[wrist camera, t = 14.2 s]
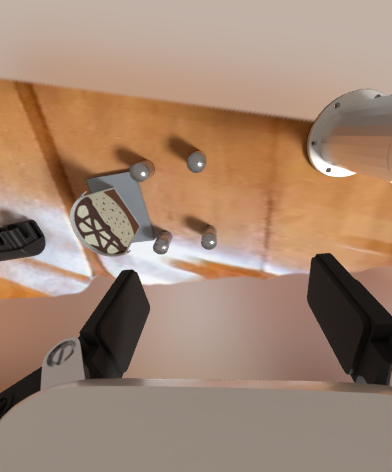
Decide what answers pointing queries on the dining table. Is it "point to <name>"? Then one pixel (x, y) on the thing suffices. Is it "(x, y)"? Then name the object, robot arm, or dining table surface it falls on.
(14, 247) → the end cap
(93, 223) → the food container
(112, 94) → the dining table surface
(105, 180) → the pad
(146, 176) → the spacers
